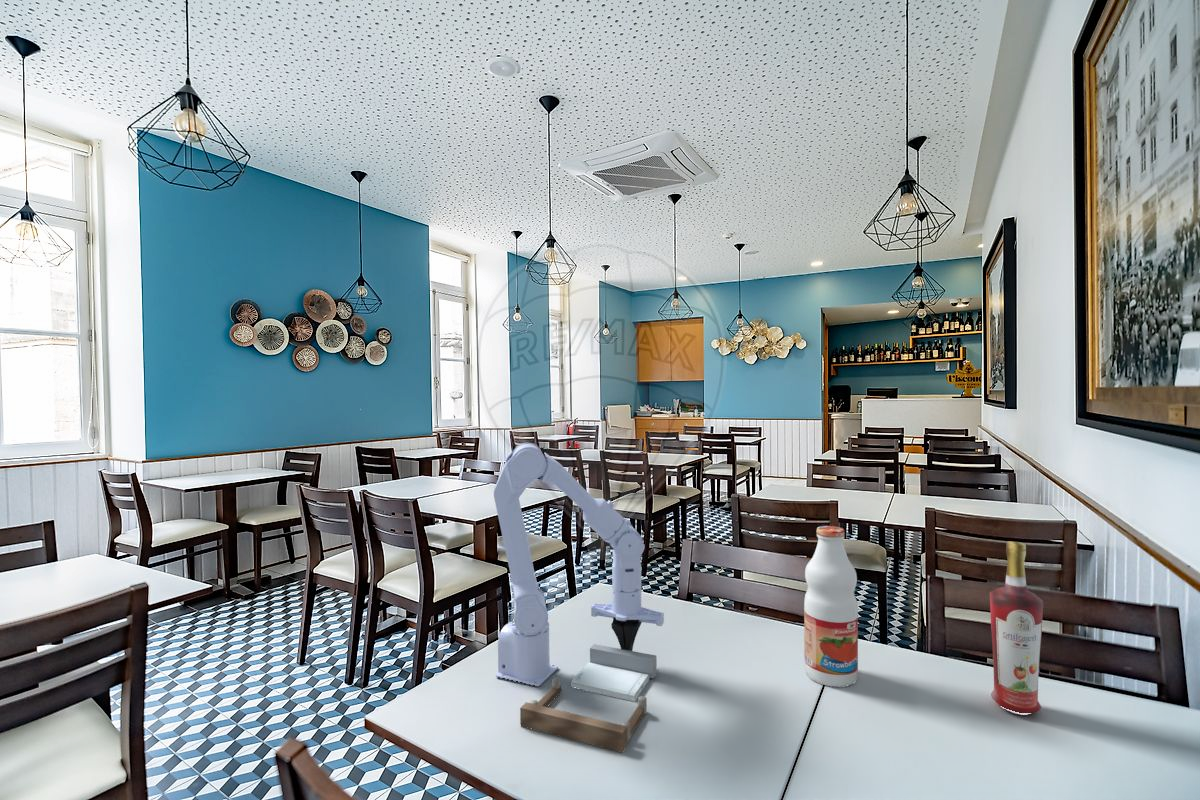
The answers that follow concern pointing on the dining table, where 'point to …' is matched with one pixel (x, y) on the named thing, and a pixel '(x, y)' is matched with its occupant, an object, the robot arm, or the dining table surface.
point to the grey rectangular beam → (624, 659)
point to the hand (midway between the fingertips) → (627, 655)
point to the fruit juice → (831, 612)
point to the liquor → (1016, 637)
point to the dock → (579, 722)
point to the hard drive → (610, 681)
